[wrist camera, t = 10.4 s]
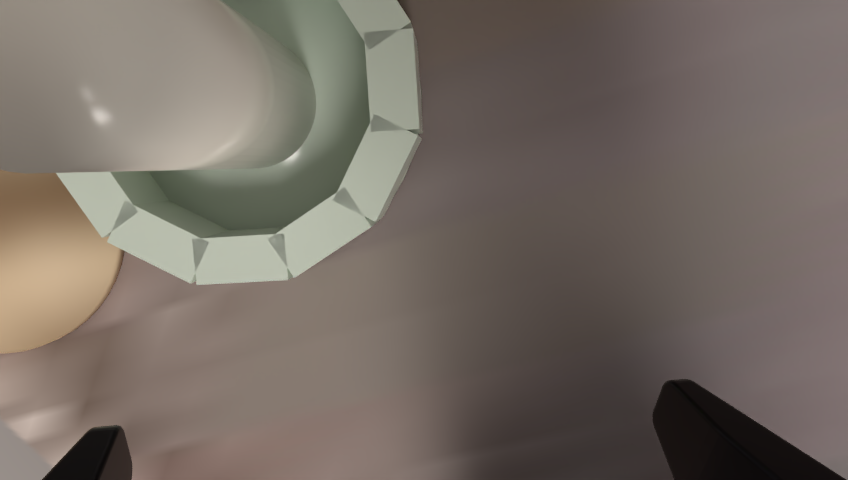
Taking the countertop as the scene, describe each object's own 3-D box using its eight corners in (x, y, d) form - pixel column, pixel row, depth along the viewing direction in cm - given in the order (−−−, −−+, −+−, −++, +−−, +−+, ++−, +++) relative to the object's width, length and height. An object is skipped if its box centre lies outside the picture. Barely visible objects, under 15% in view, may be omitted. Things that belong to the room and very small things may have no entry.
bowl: (485, 149, 22) (491, 147, 19) (222, 324, 23) (183, 351, 20) (298, -139, 21) (269, -198, 18) (35, 58, 22) (-40, 38, 19)
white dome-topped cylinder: (329, 153, 21) (189, 139, 10) (205, 181, 22) (-67, 199, 10) (298, 21, 21) (114, -151, 10) (172, 51, 21) (-153, -78, 10)
